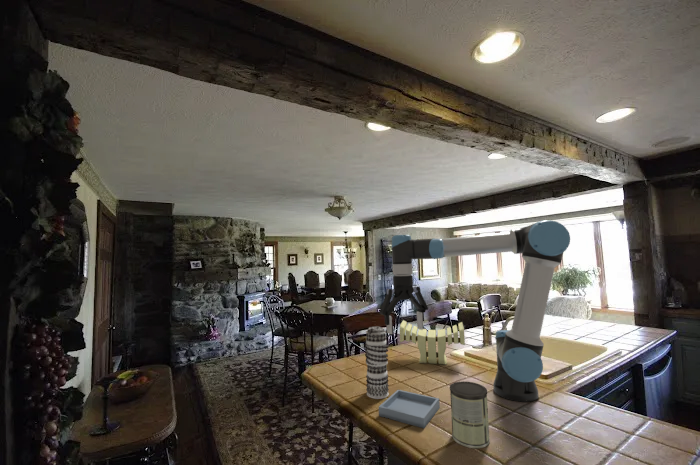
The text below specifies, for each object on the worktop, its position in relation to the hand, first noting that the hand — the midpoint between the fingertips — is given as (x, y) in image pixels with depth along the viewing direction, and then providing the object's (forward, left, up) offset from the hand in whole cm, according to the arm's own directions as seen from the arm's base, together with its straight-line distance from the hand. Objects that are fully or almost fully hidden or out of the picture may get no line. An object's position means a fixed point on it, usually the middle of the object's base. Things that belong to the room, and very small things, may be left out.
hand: (405, 331), depth 124 cm
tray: (-5, +11, -24) cm, 27 cm away
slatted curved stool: (+5, -44, -24) cm, 51 cm away
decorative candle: (+11, +4, -24) cm, 27 cm away
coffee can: (-26, +17, -24) cm, 40 cm away
